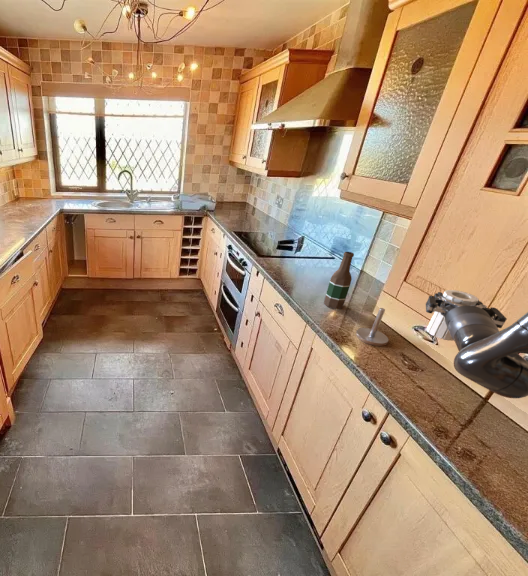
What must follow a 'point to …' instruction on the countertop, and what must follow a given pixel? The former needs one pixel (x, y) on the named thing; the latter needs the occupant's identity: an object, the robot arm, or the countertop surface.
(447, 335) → the paper roll
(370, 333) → the towel stand
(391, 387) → the countertop surface
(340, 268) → the beer bottle
